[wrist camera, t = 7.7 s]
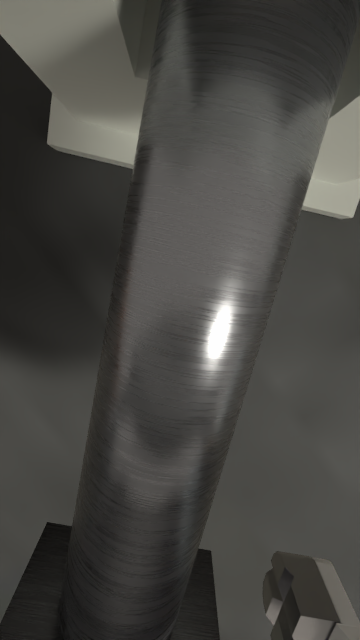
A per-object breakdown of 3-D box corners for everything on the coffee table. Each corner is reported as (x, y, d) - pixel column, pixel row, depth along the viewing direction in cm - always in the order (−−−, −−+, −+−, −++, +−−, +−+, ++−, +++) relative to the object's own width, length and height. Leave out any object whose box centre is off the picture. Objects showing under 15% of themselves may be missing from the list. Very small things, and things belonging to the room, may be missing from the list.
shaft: (167, -309, 5) (144, -1319, 2) (454, -214, 6) (899, -943, 2) (42, 551, 10) (-29, 717, 7) (202, 578, 10) (213, 751, 7)
